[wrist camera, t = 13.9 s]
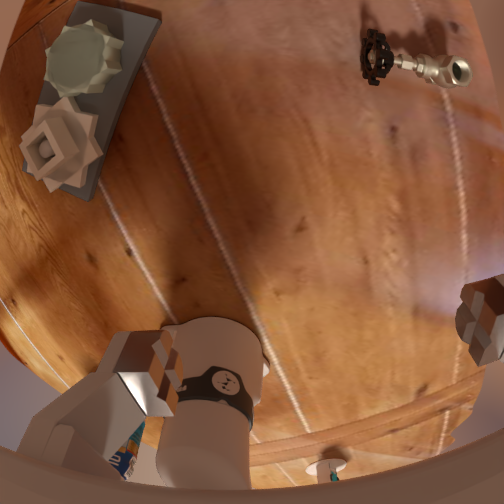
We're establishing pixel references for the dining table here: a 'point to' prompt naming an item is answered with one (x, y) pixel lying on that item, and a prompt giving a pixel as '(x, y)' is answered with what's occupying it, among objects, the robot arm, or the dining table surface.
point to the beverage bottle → (127, 454)
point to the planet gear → (61, 144)
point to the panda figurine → (326, 469)
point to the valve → (412, 64)
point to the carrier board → (114, 89)
